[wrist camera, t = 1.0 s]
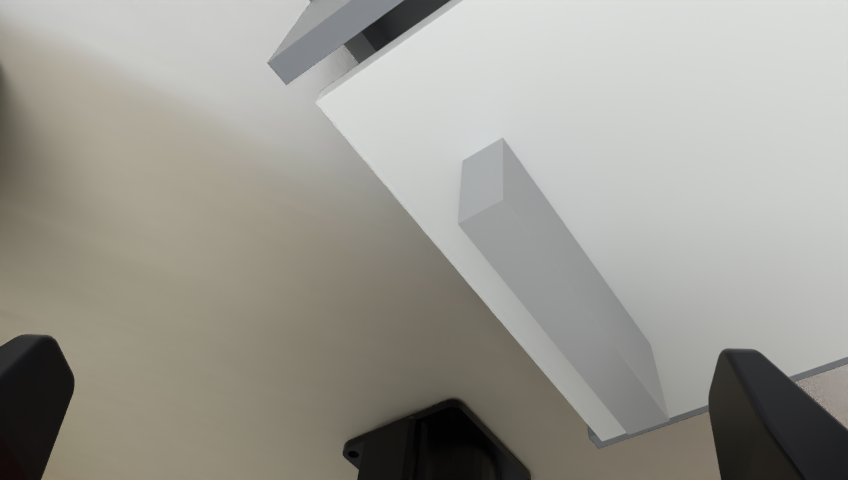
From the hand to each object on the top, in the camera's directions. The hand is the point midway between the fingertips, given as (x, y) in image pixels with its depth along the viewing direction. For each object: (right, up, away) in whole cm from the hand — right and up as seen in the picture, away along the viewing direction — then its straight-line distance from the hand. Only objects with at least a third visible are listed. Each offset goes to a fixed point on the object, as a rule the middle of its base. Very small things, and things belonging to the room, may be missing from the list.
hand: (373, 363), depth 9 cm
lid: (+7, +3, +6) cm, 10 cm away
